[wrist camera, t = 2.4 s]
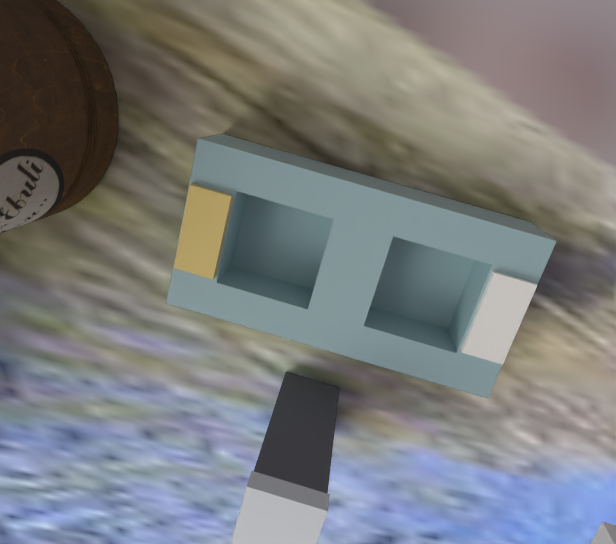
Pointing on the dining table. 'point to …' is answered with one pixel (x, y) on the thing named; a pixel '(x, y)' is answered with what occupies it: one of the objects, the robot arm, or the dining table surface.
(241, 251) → the socket block
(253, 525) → the plug
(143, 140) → the dining table surface
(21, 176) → the wooden container
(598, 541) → the robot arm
